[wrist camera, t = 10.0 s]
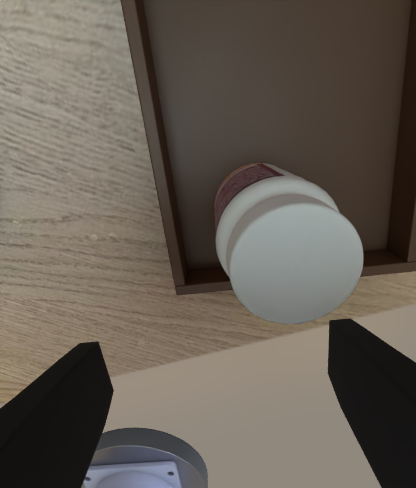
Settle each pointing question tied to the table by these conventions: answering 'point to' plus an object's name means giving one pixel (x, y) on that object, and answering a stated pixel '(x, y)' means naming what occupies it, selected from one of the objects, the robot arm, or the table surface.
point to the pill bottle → (284, 244)
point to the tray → (279, 115)
